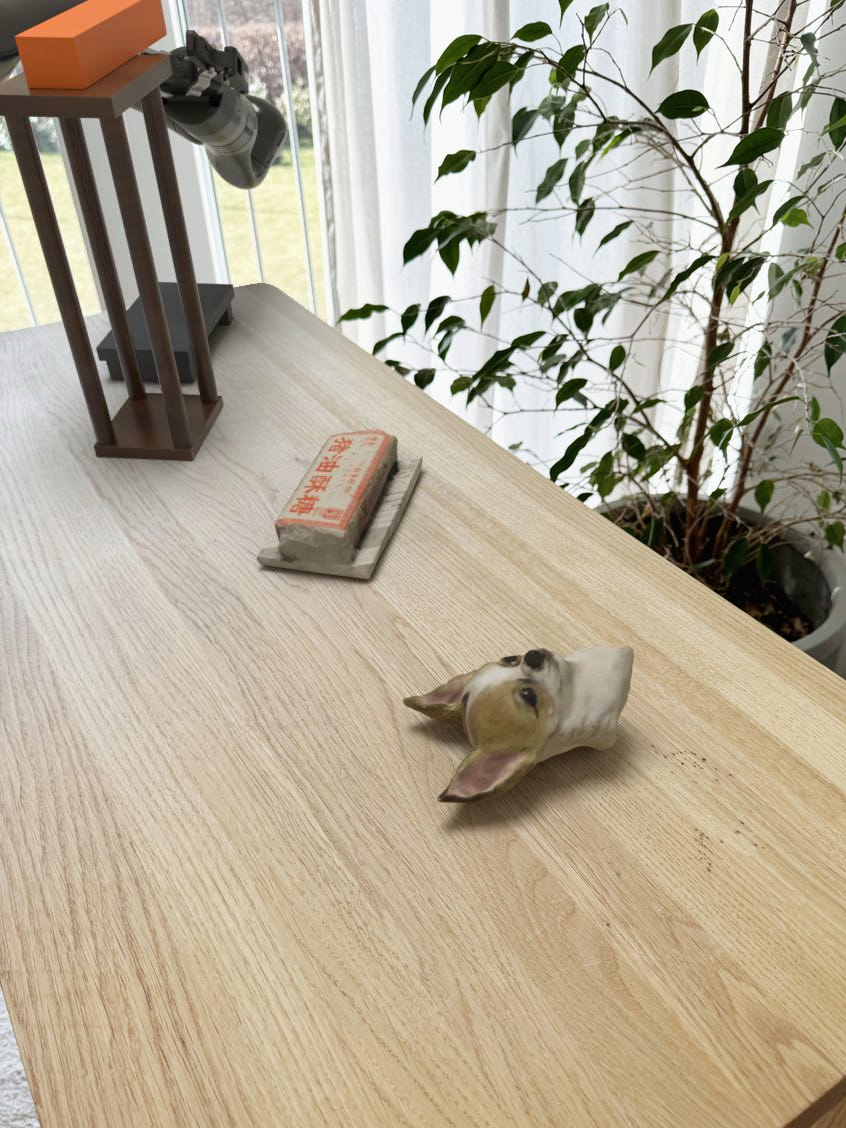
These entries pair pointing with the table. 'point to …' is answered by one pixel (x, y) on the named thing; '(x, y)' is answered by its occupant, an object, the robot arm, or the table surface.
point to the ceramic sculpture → (529, 713)
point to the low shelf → (170, 330)
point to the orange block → (88, 42)
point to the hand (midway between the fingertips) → (143, 40)
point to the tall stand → (144, 418)
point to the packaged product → (344, 506)
